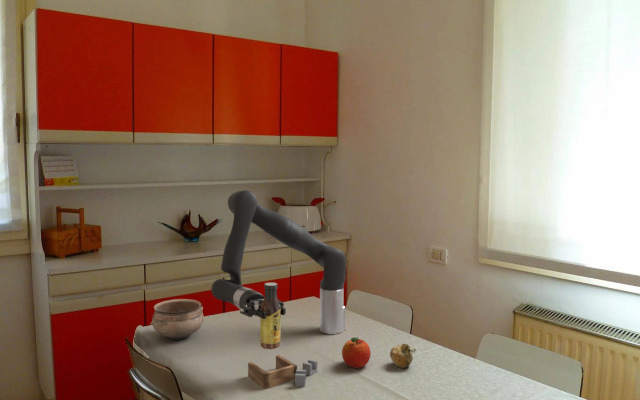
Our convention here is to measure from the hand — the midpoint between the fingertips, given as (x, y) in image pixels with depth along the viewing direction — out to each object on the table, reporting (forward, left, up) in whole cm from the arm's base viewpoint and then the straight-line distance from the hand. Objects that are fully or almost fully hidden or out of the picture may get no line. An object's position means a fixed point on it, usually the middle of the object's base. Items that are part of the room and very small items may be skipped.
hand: (274, 313), depth 165 cm
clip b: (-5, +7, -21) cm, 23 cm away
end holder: (0, -2, -21) cm, 21 cm away
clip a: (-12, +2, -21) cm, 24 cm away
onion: (-40, +15, -21) cm, 48 cm away
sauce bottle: (0, -3, -11) cm, 12 cm away
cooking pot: (+10, -54, -21) cm, 59 cm away
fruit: (-28, +6, -21) cm, 36 cm away
